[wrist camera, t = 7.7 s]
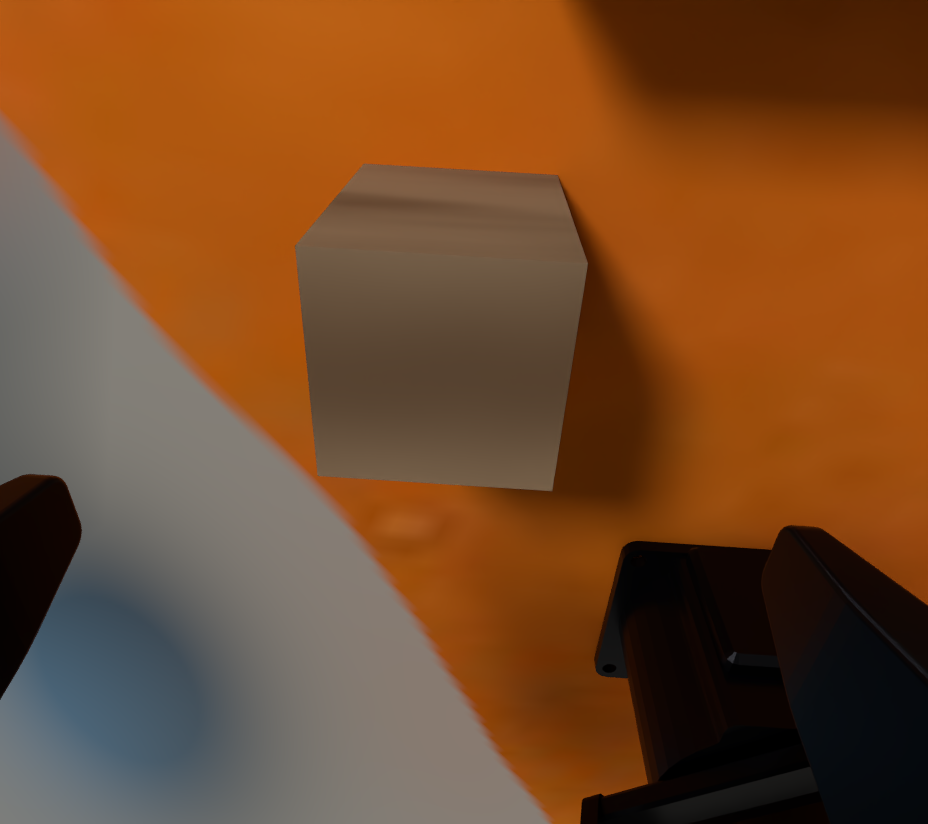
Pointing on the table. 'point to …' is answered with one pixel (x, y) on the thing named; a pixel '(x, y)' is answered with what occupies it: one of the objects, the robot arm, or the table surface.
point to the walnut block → (441, 326)
